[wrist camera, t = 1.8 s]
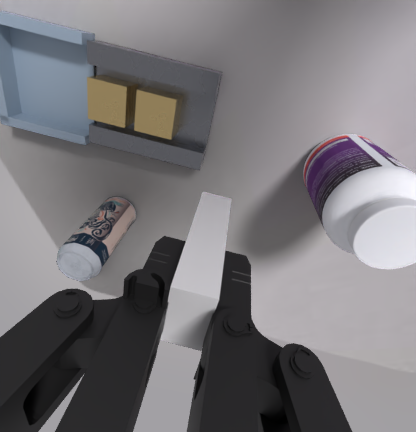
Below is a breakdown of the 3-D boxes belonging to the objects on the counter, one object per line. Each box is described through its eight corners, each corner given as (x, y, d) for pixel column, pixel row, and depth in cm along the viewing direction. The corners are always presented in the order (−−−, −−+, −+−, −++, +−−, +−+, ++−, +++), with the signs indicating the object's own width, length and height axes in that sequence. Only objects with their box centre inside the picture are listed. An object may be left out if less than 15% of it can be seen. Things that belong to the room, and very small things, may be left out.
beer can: (128, 191, 37) (81, 245, 27) (143, 220, 39) (105, 280, 29) (98, 199, 38) (43, 253, 28) (114, 227, 40) (68, 286, 30)
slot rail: (99, 40, 28) (86, 40, 26) (222, 72, 28) (219, 74, 26) (99, 136, 33) (89, 142, 31) (202, 162, 33) (199, 170, 31)
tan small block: (101, 74, 29) (87, 77, 26) (137, 83, 29) (126, 87, 26) (101, 113, 31) (88, 118, 29) (135, 121, 31) (124, 128, 29)
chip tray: (-1, 9, 28) (-22, 6, 26) (94, 34, 28) (81, 32, 26) (17, 119, 34) (1, 123, 31) (95, 139, 33) (85, 145, 31)
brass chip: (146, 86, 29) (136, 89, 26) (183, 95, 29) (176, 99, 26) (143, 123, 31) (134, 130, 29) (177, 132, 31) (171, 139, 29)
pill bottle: (297, 196, 34) (323, 278, 22) (307, 130, 30) (346, 186, 18) (366, 198, 33) (434, 286, 21) (387, 131, 29) (487, 191, 16)
